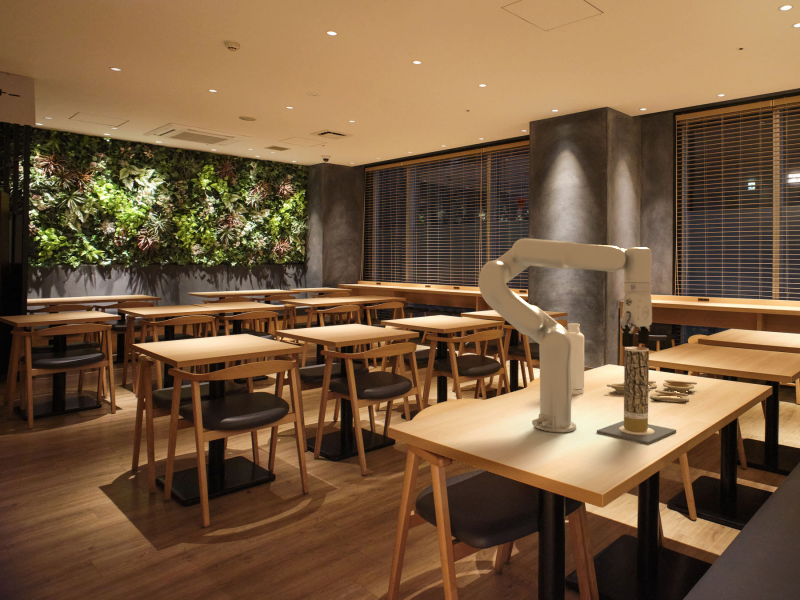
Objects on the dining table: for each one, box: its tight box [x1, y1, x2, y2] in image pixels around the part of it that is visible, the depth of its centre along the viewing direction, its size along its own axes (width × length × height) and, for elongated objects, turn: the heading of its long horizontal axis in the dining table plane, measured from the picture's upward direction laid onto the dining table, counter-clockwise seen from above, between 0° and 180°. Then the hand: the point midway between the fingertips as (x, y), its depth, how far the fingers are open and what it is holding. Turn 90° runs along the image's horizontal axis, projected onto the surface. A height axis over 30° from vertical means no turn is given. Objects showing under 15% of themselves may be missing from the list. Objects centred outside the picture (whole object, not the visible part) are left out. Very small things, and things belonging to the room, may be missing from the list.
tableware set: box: [606, 379, 698, 403], centre depth 228 cm, size 35×29×4 cm
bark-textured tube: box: [623, 346, 650, 432], centre depth 171 cm, size 7×7×25 cm
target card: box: [596, 420, 677, 445], centre depth 172 cm, size 18×16×1 cm
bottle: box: [567, 322, 585, 395], centre depth 229 cm, size 8×8×28 cm
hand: (635, 345), depth 171 cm, fingers open, 9 cm apart
